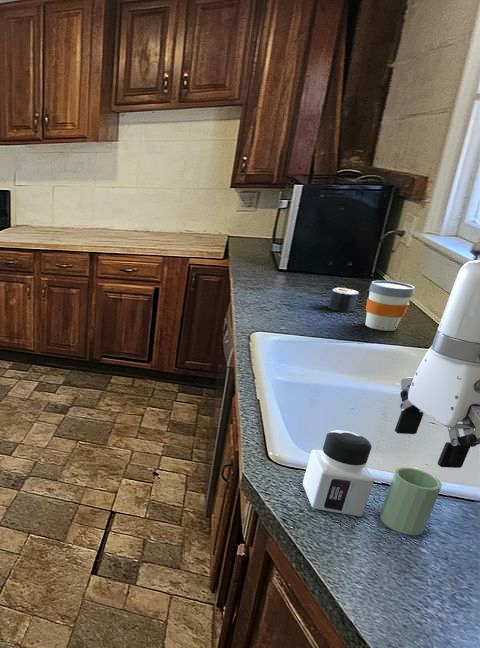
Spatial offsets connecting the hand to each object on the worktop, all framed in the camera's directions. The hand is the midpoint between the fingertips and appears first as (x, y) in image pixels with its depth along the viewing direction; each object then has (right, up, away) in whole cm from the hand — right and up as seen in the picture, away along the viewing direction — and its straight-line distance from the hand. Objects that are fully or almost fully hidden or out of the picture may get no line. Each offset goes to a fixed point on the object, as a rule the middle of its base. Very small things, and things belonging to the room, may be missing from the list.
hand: (425, 448), depth 83 cm
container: (-8, -11, +11) cm, 18 cm away
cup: (0, -13, +5) cm, 14 cm away
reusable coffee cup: (+67, +26, +102) cm, 124 cm away
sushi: (+65, +34, +122) cm, 142 cm away
